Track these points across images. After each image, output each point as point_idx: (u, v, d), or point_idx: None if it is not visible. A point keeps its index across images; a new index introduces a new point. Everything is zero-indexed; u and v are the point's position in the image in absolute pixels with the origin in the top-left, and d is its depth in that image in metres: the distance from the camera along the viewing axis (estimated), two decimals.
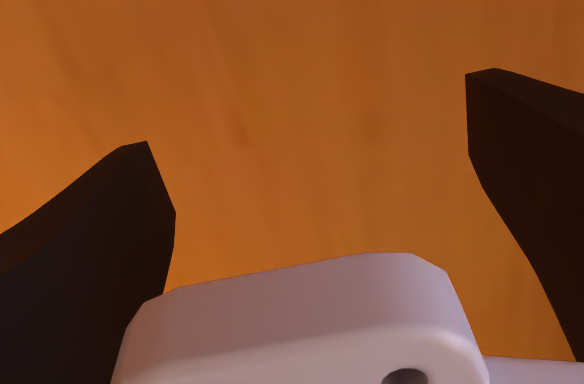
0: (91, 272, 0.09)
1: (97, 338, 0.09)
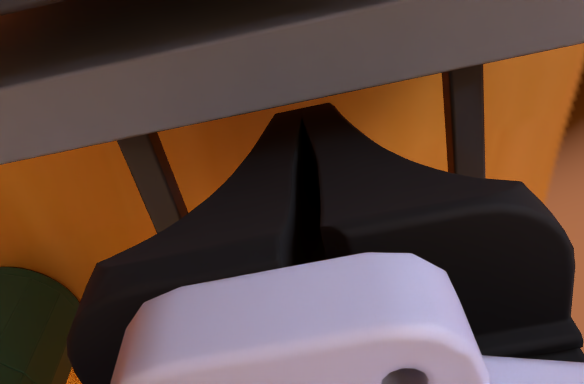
0: (304, 232, 0.09)
1: None
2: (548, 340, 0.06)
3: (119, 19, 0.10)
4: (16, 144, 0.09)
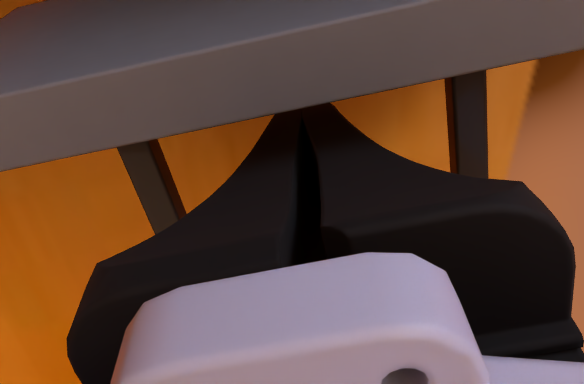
0: (304, 232, 0.09)
1: None
2: (547, 339, 0.06)
3: (118, 24, 0.10)
4: (14, 151, 0.08)
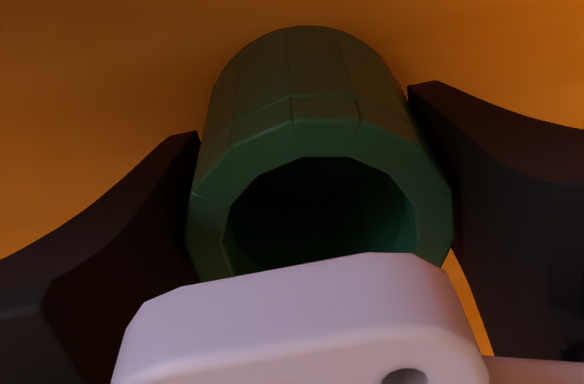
0: (159, 259, 0.09)
1: None
2: None
3: None
4: None
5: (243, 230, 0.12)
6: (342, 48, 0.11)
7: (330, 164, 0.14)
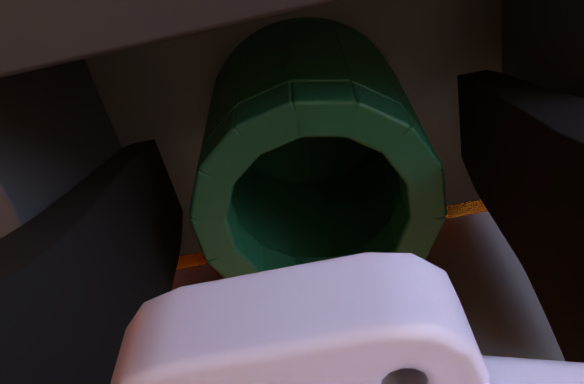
0: (102, 270, 0.09)
1: (108, 336, 0.09)
2: None
3: None
4: None
5: (245, 212, 0.13)
6: (340, 38, 0.12)
7: (328, 151, 0.15)
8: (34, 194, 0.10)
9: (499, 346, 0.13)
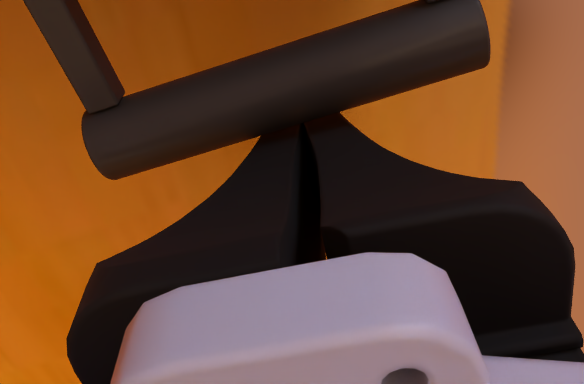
0: (304, 232, 0.09)
1: None
2: (548, 340, 0.06)
3: None
4: None
5: None
6: None
7: None
8: None
9: None
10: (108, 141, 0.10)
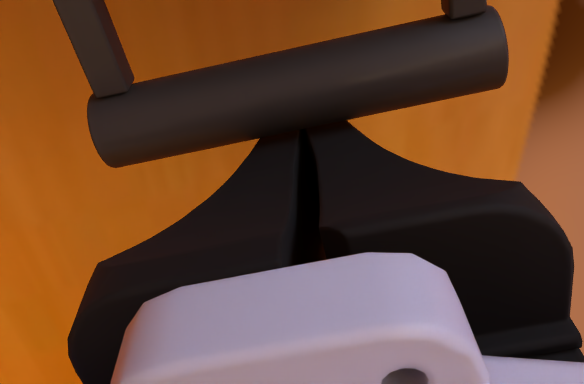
0: (305, 232, 0.09)
1: None
2: (547, 340, 0.06)
3: None
4: None
5: None
6: None
7: None
8: None
9: None
10: (114, 128, 0.09)
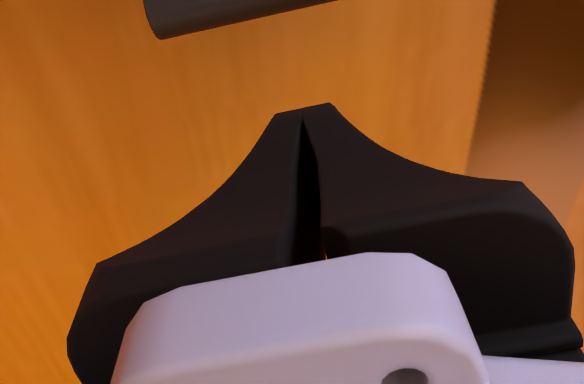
0: (304, 232, 0.09)
1: None
2: (548, 339, 0.06)
3: None
4: None
5: None
6: None
7: None
8: None
9: None
10: (161, 6, 0.14)
